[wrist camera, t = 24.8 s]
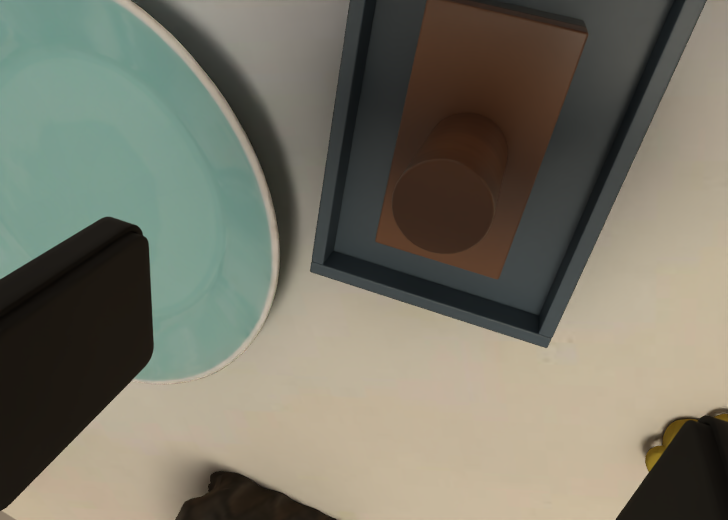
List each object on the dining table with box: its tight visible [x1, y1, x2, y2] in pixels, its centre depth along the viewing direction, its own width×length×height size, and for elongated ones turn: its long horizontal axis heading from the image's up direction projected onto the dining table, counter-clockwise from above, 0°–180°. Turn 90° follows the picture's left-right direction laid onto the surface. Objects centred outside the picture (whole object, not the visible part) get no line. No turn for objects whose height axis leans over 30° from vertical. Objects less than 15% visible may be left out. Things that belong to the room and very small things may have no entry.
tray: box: [310, 0, 707, 348], centre depth 22 cm, size 15×11×2 cm
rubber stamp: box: [375, 0, 588, 279], centre depth 19 cm, size 9×5×8 cm, turn 170°
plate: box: [0, 0, 280, 384], centre depth 29 cm, size 22×22×3 cm
